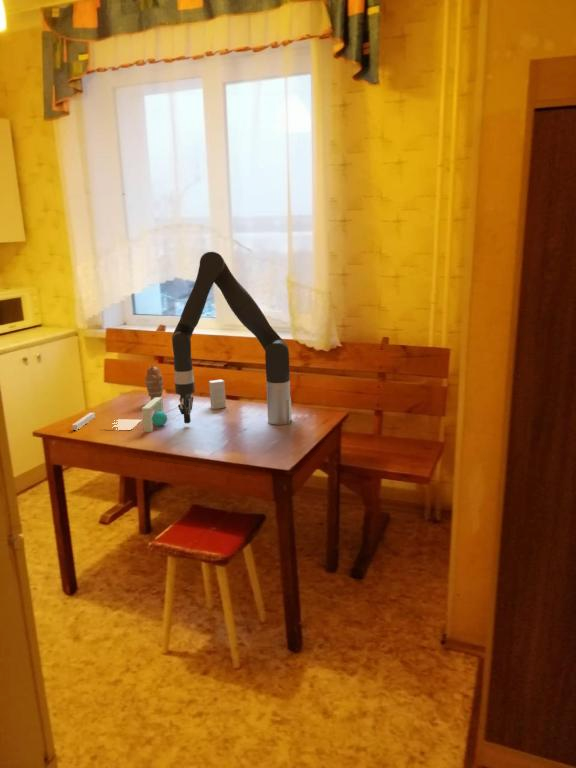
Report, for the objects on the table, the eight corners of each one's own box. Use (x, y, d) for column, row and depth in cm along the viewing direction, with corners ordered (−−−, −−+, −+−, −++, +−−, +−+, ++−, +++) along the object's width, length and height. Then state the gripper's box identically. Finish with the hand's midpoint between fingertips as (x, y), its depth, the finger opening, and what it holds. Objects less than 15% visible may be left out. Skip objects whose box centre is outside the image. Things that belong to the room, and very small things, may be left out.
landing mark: (142, 420, 249) (142, 419, 249) (130, 430, 237) (130, 430, 236) (112, 419, 251) (112, 419, 251) (99, 430, 238) (99, 429, 238)
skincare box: (223, 404, 267) (222, 379, 264) (226, 407, 263) (224, 381, 260) (210, 406, 265) (208, 380, 261) (213, 409, 261) (211, 382, 258)
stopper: (95, 418, 253) (94, 412, 253) (77, 430, 238) (76, 425, 237) (90, 418, 254) (90, 412, 253) (72, 430, 238) (72, 424, 238)
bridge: (164, 419, 249) (162, 397, 246) (151, 432, 234) (149, 408, 232) (157, 419, 249) (155, 397, 247) (144, 431, 235) (141, 408, 232)
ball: (154, 420, 245) (168, 424, 244) (148, 426, 239) (163, 429, 239) (156, 407, 243) (170, 411, 242) (150, 412, 237) (164, 416, 237)
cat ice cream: (161, 406, 267) (158, 367, 262) (144, 406, 268) (140, 367, 263) (167, 400, 276) (164, 362, 271) (151, 400, 276) (147, 362, 272)
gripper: (188, 385, 228) (191, 428, 233) (198, 376, 241) (201, 417, 245) (169, 385, 229) (173, 428, 234) (180, 376, 242) (183, 417, 246)
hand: (187, 422), depth 239 cm, fingers closed
